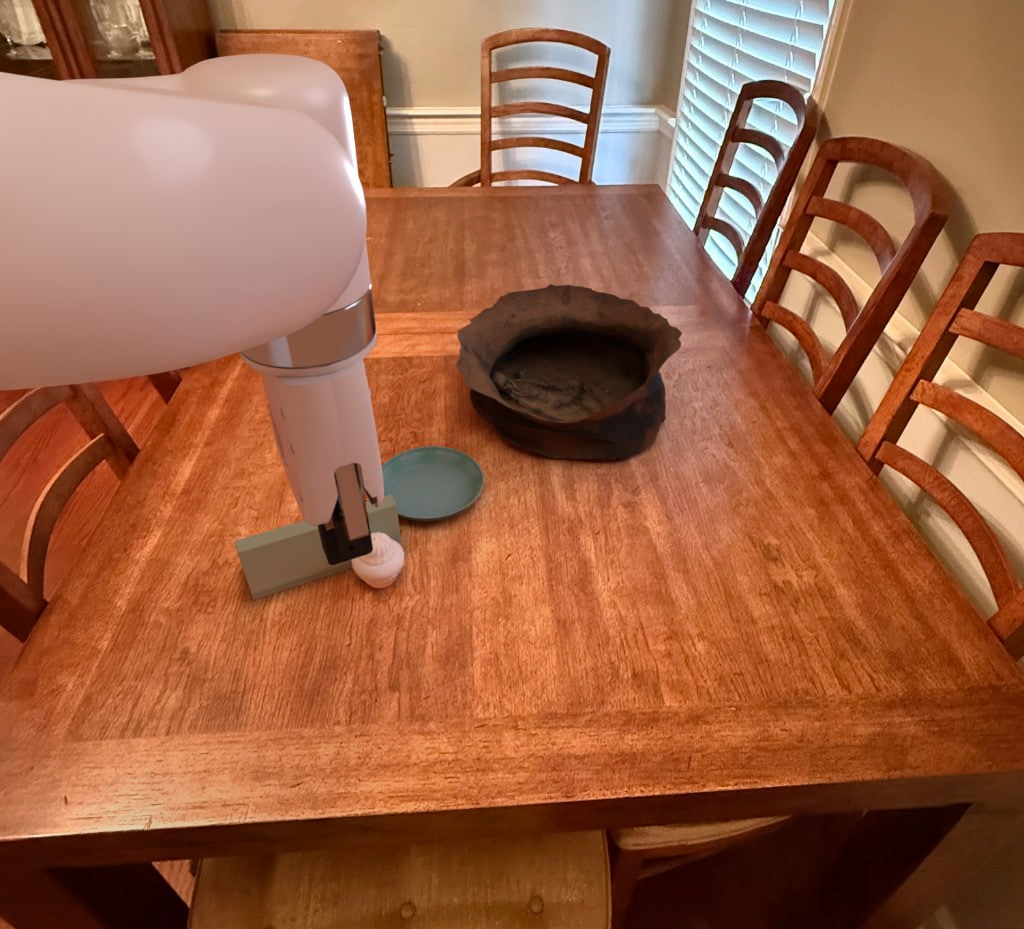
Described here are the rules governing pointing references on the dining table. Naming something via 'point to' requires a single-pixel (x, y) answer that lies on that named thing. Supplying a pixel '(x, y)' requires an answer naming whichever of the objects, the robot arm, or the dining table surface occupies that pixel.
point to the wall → (301, 552)
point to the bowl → (569, 371)
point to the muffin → (380, 562)
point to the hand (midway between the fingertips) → (348, 551)
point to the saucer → (432, 482)
